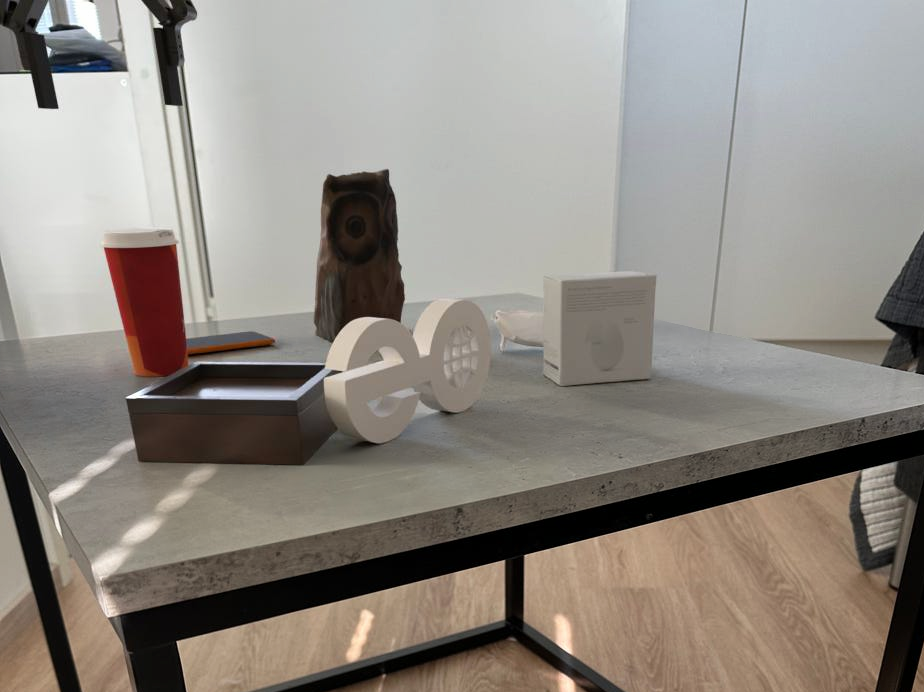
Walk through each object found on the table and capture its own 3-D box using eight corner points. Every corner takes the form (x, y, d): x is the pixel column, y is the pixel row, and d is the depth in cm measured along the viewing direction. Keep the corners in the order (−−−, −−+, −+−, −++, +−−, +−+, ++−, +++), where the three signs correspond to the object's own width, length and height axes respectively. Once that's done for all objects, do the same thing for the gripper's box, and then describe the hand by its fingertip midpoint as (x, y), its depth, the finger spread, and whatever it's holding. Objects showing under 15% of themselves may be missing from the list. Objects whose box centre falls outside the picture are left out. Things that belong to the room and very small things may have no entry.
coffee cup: (212, 365, 109) (192, 227, 102) (170, 380, 102) (145, 233, 95) (153, 361, 111) (129, 226, 104) (108, 376, 105) (79, 232, 98)
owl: (405, 328, 129) (396, 168, 120) (420, 344, 118) (412, 170, 109) (314, 333, 127) (298, 170, 117) (321, 350, 116) (304, 172, 106)
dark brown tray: (137, 461, 76) (125, 398, 73) (203, 417, 88) (194, 361, 85) (303, 465, 74) (296, 400, 72) (346, 419, 86) (341, 362, 84)
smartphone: (276, 344, 120) (276, 337, 119) (148, 361, 111) (147, 354, 111) (253, 336, 125) (252, 329, 125) (129, 351, 117) (128, 344, 116)
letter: (472, 397, 93) (471, 291, 88) (491, 399, 92) (490, 293, 87) (330, 452, 77) (318, 327, 72) (350, 456, 76) (340, 329, 71)
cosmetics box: (629, 367, 104) (635, 268, 99) (652, 380, 99) (659, 275, 94) (540, 374, 102) (542, 272, 97) (559, 387, 96) (561, 280, 91)
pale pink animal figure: (504, 368, 111) (585, 345, 110) (489, 310, 109) (572, 286, 108) (503, 368, 116) (581, 345, 115) (489, 312, 114) (568, 289, 113)
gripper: (208, -157, 86) (240, 105, 96) (-38, -142, 89) (17, 111, 99) (175, -181, 80) (213, 102, 90) (-90, -164, 83) (-24, 108, 93)
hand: (110, 107), depth 95 cm, fingers open, 13 cm apart
